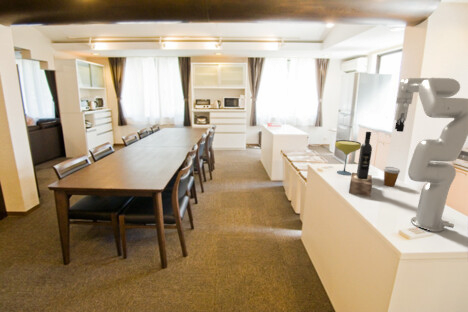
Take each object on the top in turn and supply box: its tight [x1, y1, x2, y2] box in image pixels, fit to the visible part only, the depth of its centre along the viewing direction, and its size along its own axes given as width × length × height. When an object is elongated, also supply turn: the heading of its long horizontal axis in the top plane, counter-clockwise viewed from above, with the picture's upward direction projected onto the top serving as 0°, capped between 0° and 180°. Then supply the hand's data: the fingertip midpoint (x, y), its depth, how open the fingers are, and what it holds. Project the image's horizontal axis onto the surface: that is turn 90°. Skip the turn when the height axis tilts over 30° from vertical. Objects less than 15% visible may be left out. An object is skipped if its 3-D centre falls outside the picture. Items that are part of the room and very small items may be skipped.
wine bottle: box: [356, 131, 373, 179], centre depth 158 cm, size 6×6×30 cm
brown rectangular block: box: [348, 172, 373, 198], centre depth 163 cm, size 12×20×8 cm, turn 152°
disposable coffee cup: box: [383, 166, 401, 188], centre depth 171 cm, size 10×10×12 cm
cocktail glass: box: [334, 139, 362, 176], centre depth 194 cm, size 18×18×25 cm
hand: (398, 130), depth 149 cm, fingers open, 9 cm apart
